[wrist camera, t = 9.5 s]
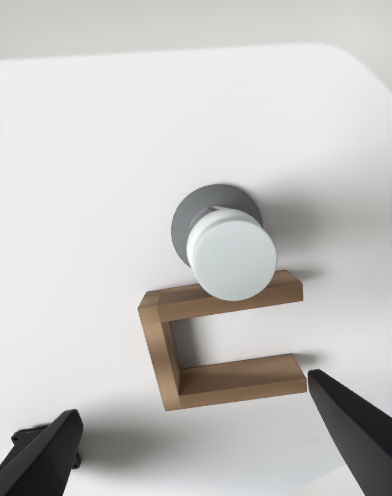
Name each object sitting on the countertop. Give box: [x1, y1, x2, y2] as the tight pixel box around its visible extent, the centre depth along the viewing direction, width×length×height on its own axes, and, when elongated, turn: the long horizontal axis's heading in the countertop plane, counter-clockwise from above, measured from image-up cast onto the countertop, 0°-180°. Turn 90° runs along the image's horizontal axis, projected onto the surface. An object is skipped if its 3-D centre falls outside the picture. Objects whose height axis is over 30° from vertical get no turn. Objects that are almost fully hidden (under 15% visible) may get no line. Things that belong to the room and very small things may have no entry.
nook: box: [138, 270, 307, 411], centre depth 19 cm, size 11×14×3 cm
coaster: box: [171, 185, 262, 267], centre depth 18 cm, size 8×8×1 cm
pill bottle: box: [187, 206, 277, 301], centre depth 13 cm, size 5×5×8 cm
